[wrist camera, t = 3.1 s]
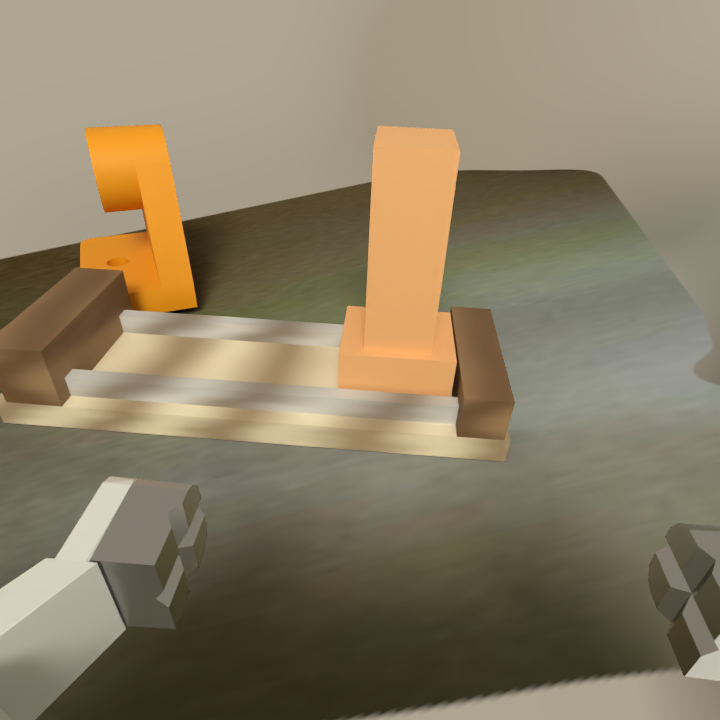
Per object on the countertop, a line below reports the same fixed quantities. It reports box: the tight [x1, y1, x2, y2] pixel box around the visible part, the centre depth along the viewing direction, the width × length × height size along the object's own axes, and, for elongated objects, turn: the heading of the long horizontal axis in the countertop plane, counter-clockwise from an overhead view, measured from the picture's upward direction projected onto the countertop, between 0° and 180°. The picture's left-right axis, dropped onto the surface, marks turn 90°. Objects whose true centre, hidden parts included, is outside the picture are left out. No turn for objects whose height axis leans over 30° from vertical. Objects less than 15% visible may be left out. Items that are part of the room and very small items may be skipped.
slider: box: [338, 126, 460, 397], centre depth 27 cm, size 6×5×13 cm
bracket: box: [80, 124, 197, 312], centre depth 38 cm, size 11×7×12 cm, turn 23°
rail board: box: [0, 268, 515, 462], centre depth 30 cm, size 27×9×5 cm, turn 86°
